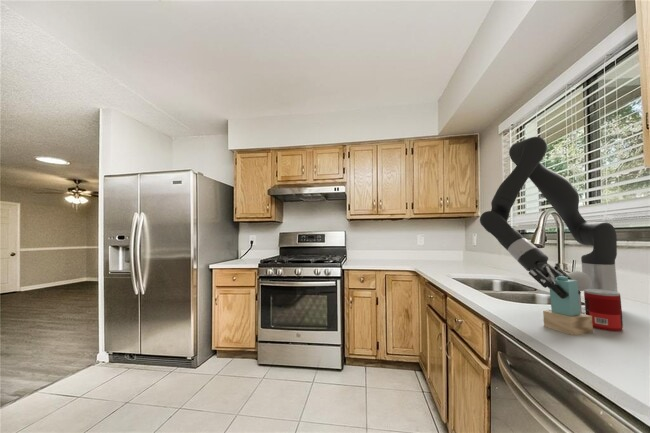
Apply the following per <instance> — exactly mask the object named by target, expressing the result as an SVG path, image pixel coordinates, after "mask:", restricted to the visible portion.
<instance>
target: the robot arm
mask: <svg viewBox="0 0 650 433" xmlns="http://www.w3.org/2000/svg"><path fill="white" fill-rule="evenodd" d="M547 152H548V143H547V141H546V140H545V139H544V138H543V137H540V136H532V137H528V138H526V139H522V140H520V141H518V142H517V141H516V142H515V143H513V144H512V145H511V146H510V147H509V150H508V155H509V157H510V160H511V161H512V163H513V164H515V167H514V169H513V170H511V173H509V175H508V176H507V177H506V178H504V180H503V182H502V183H501V184H500V185H499V186H498V188H497V189H496V192H495V194H494V195H493V198H492V199H491V202H490V204H491V210H488V211H485V212H483V213H482V214H481V215H480V217H479V222H480V225H481V227H483V228H484V229H485V231H486V232H487V233H490V234H491V235H492V236H493V237H495V239H496V240H497V241H498V242H499V244H500V245H501V246H502V247H503V248H504V249H505V250H506V251H508V253H509V254H510V255H511V257H513V259H514V260H515V261H517V262H518V263H519V265H520V266H522V267H523V268H524V269H525V270H526V271H527V272H528V274H529V276H530V277H532V278H533V279H534V281H537V283H539V284H540V285H541V286H542V287H543V288H545V289H546V288H548V289H549V290H550V289H552V290H553V291H554V292H555V293H556V294H557V295H558V296H559V297H560V298H562V299H564V298H566V297H568V296H569V294H568V293H567V292H566V291H565V290H564V289H563V288H562V287H560V286H559V285H557V283H556V281H555V280H554V279H558V278H557V276H564V277H568V280H572V279H571V278H570V277H569V276H568V273H566V272H565V271H564V270H563V269H562V268H561V267H560V266H558V265H554V266H553V265H551V264H549V263H548V261H549V257H548V256H547V255H546V254H545V253H544V252H543V251H542V250H541V249H539V248H538V247H537V246H536V245H535V244H534V243H533V242H532V241H530V240H529V239H527V238H526V237H525V236H523V235H522V234H521V233H520V232H519V231H518V230H516V229H515V228H513V226H512V225H510V224H509V223H508V220H509V216H510V213H511V209H512V207H513V206H514V204H515V201H516V200H517V198H518V196H519V194H520V192H521V190H522V188H523V187H524V185H525V183H526V182H527V180H528V179H529V180H530V181H531V182H532V183H533V185H534V186H535V187H536V188H537V189H538V190H539V192H540V194H541V195H542V196H543V197H544V198H545V200H546V201H547V202H548V203H549V204H550V205H551V207H552V208H553V209H554V210H555V211H556V213H557V215H558V216H559V217H560V218H561V220H562V221H563V222H564V224H565V226H566V227H567V229H568V231H569V232H570V235H572V237H573V238H574V240H575V241H576V242H577V243H579V244H580V245H583V246H589V247H590V246H592V247H593V248H592V251H591V252H589V253H586V254H583V255H581V258H580V259H581V261H580V262H581V270H582V271H581V272H583V273H585V274H587V275H588V276H589V277H590V278H591V281H592V285H591V287H590V288H589V289H601V290H610V291H615V292H618V293H619V291H618V282H617V271H616V258H617V255H618V250H617V247H618V245H617V244H618V243H617V242H618V240H617V238H618V237H617V231H616V228H615V227H614V226H613V224H611V223H610V222H608V221H607V222H606V221H597V222H596V221H595V222H593V221H592V222H588V221H587V220H586V219H585V218H584V217H583V216H582V215H581V213H580V210H579V204H580V196H579V193H578V191H577V190H576V188H575V187H574V186H573V184H572V183H571V182H570V181H569V180H568V179H567V178H566V177H564V176H563V175H561V174H559V173H557V172H556V171H555V172H554V171H553V170H551V169H549V168H547V167H546V166H545V165H543V163H541V162H542V160H543V158H544V157H545V156H546V154H547ZM578 293H579V294H581V293H582V291H579V290H578ZM583 301H584V302H585V298H584V297H583Z"/></svg>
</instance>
